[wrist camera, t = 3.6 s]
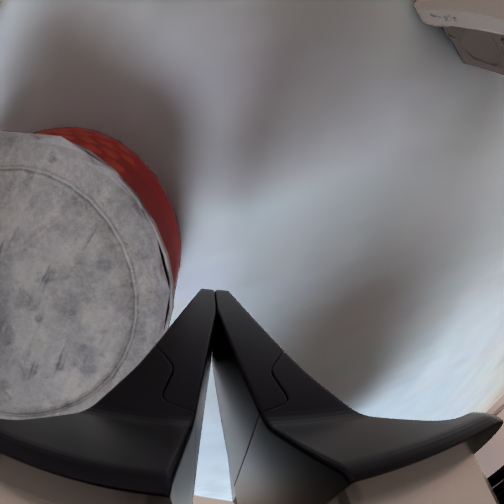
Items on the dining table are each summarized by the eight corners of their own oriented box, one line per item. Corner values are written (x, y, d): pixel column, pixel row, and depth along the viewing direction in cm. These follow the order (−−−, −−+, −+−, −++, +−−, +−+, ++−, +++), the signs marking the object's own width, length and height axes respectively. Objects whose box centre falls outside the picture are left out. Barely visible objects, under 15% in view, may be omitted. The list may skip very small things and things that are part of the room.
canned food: (45, 148, 13) (-62, 55, 3) (212, 192, 14) (237, 65, 5) (-1, 340, 12) (-121, 386, 2) (154, 407, 13) (115, 556, 4)
